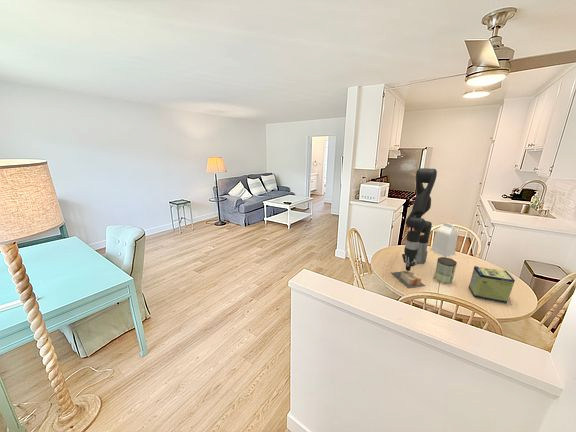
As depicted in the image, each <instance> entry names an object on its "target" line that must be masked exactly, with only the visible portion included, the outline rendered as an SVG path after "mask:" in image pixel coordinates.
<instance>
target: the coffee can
mask: <svg viewBox="0 0 576 432" xmlns="http://www.w3.org/2000/svg"><path fill="white" fill-rule="evenodd" d="M457 263H458V262H457V261H456V260H454V259H453V258H450V257H443V256H441V257H438V258H437V262H436V268H435V271H434V277H433V278H434V280H435V281H437V282H438V283H441V284H446V285H447V284H448V285H451V284H452V283H453V279H454V276H455V273H456V272H455V271H456V267H457Z"/></svg>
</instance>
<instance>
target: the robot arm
mask: <svg viewBox="0 0 576 432" xmlns="http://www.w3.org/2000/svg"><path fill="white" fill-rule="evenodd" d="M437 175H438V171H437V169H435V168H418V169H417V170H416V172H415V190H416V191H415V199H414V201H413V204H412V208H411V212H410V213H409V215H408V216H407V218H406V219H405V226H406V227H407V228H411V229H413V230H409V231H408V232H407V234H406V239H405V242H404V243H405V244H404V251H403V252H404V253H402V254H401V257H402V260H403V263H405V271H411V269H412V268H413V267H415V266H417V265H422V264H423V265H424V264H425V263H426V262H427V256H428V246H429V240H430V234H431V231H432V228H433V227H432V226H433V224H432V221H430V220H429V221H428V220H425V218H423V216H424V215H425V214H426V213H427V212H428V211H429V210H430V209H431V207H432V198H431V193H432V190H433V187H434V185H435V183H436V180H437ZM424 184H427V185H426V187H424Z"/></svg>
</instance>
